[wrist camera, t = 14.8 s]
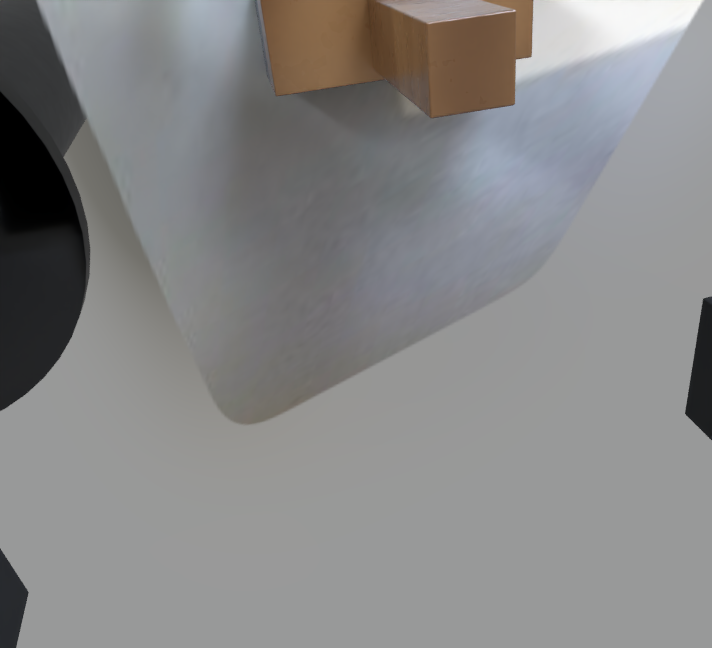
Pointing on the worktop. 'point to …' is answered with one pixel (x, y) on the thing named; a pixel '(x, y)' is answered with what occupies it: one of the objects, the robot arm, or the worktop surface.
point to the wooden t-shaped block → (400, 48)
